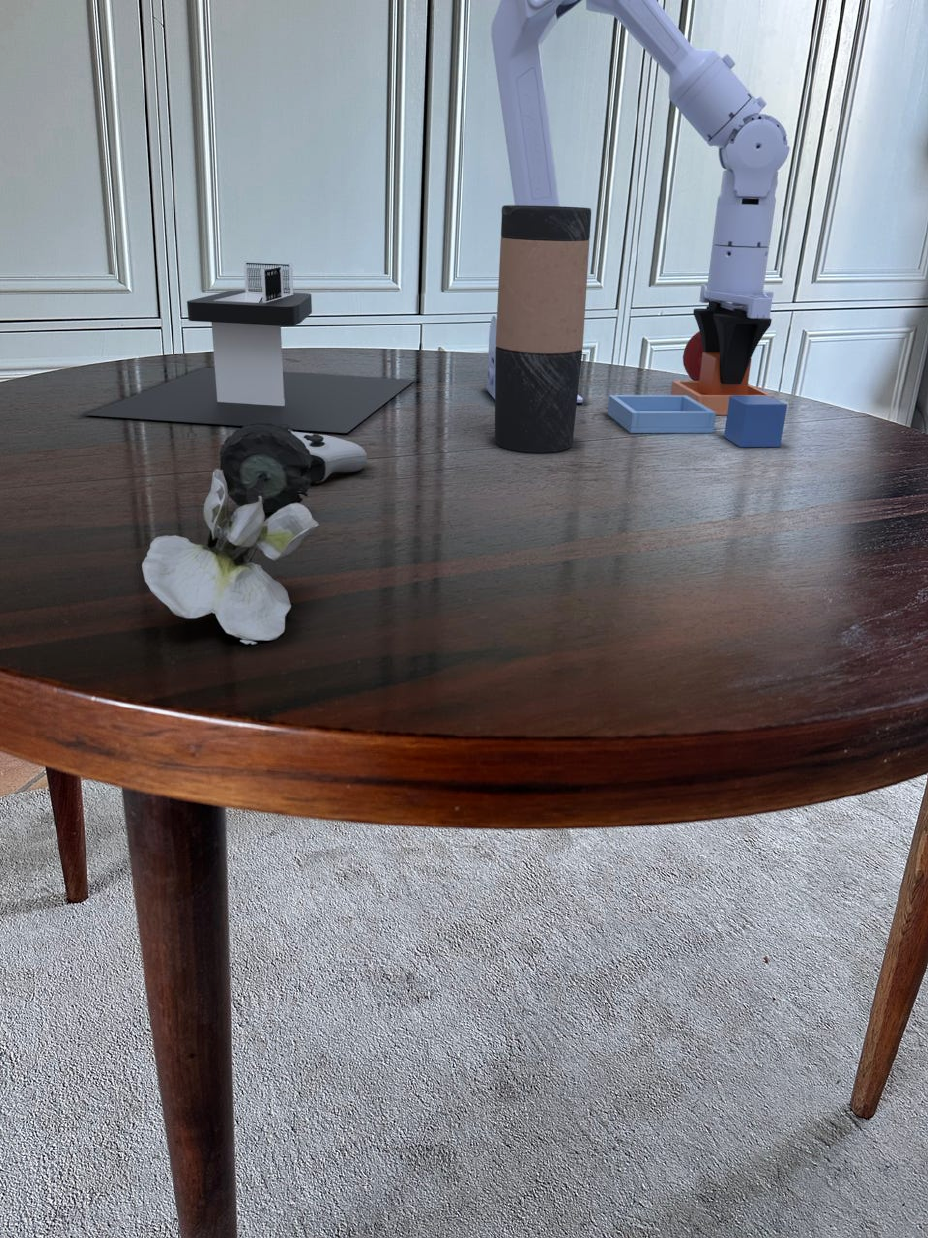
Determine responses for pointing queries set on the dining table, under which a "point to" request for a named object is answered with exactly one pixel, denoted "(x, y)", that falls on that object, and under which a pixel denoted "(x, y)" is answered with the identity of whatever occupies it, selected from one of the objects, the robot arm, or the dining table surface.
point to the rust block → (718, 377)
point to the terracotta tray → (710, 401)
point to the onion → (693, 357)
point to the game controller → (329, 455)
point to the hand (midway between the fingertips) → (723, 379)
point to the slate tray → (661, 414)
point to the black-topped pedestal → (258, 369)
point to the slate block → (755, 421)
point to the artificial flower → (239, 537)
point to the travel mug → (540, 325)
